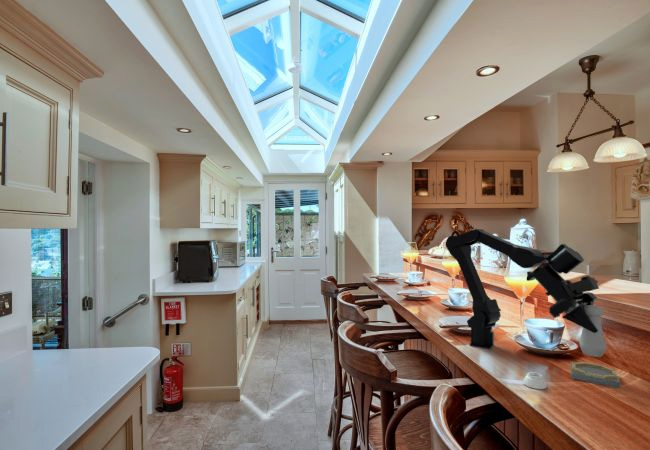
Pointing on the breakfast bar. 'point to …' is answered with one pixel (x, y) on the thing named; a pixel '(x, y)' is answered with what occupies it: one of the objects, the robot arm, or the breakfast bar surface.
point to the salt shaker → (593, 341)
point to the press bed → (594, 374)
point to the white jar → (534, 381)
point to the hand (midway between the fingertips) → (599, 331)
